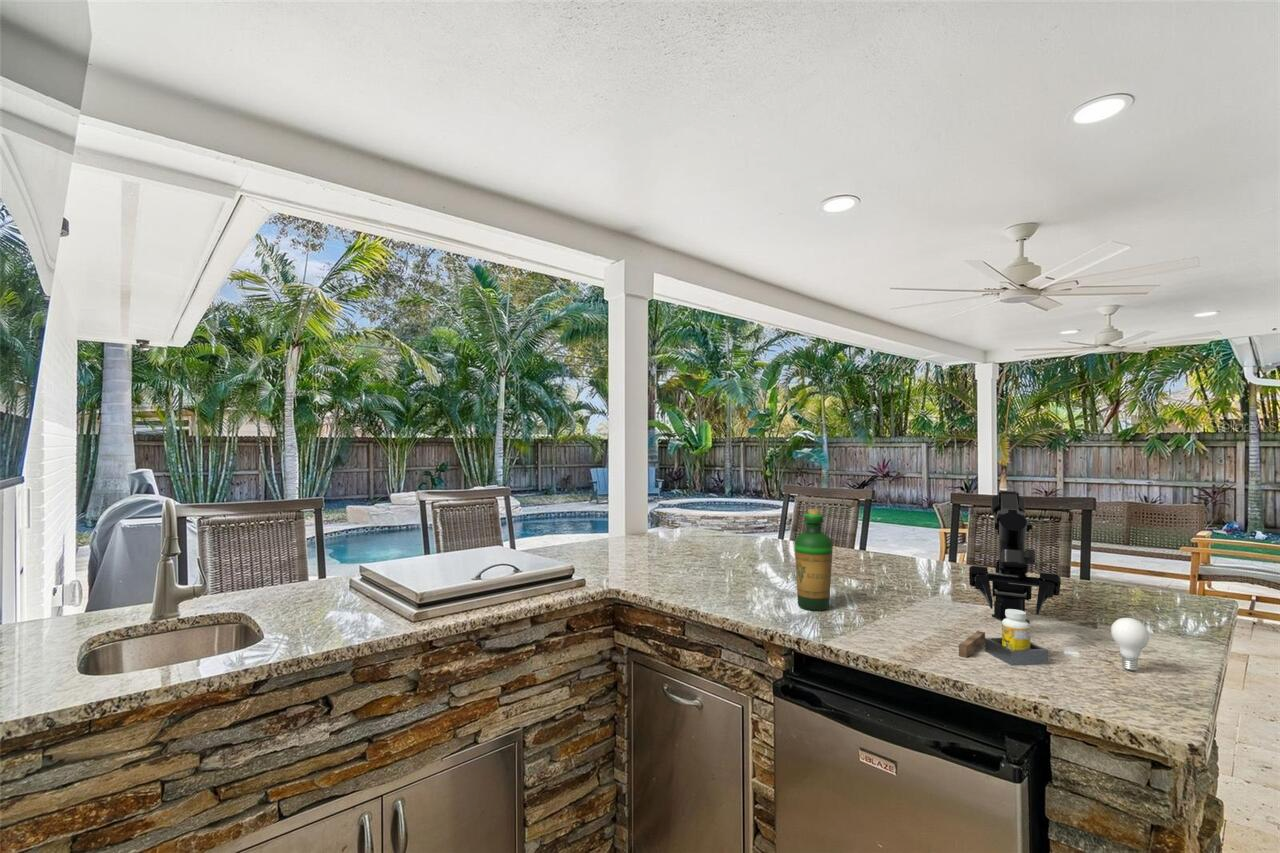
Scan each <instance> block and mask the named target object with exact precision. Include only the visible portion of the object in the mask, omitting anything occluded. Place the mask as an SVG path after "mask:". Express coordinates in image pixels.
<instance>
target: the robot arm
mask: <svg viewBox="0 0 1280 853" xmlns="http://www.w3.org/2000/svg"><path fill="white" fill-rule="evenodd" d="M1025 501H1026V500H1025V499H1024V498H1023V497H1022V496H1020V493H1019V491H1018V492H1017V491H1014V490H1013V491H1011V490H1000V491H998V494H996V495H995V496H993V497H991V515H993V520H994V522H993V523H994V524H993V528H994V531H996V532H997V535H998V537H999V538H998V560H997V561H996V564H995V569H994V570H995V572H991V571H988V566H984V565H983V566H982V565H974V564H972V565H970V566H969V568H968V572H969V574H968V575H969V576H968V577H969V586H970V587H974V588H975V589H976V590H979V591H980V592H981V594H982V595H983V597H984V598H985V600H986V602H987V604H988V606H989V609H991V610H993V609H994V611H993V613H991V617H993V618H995V619H997V620H999V621H1001V622H1002V621H1003V620H1004V619H1005V618H1007V617H1006V615H1005V610H1006V609H1016V610H1021V611H1024V612H1026V601H1030V600H1032V589H1033V588H1032V587H1038V591H1037V598H1036V606H1035V607H1036V608H1035V614H1036V615H1040V613H1041V610H1042V608H1043V605H1044V603H1045V602H1046V601H1047V600H1048V599H1052V598H1053V597H1054V596H1055V597H1056V596H1059V595H1060V591H1061V583H1062V582H1061V576H1060V575H1059V574H1058V573H1055V572H1045V571H1039V577H1035V576H1028V569H1029V567H1028V565H1035V564H1036V551H1035V549H1032V548H1030V549H1029V548H1026V538H1027V534H1028V533H1030V530H1033V524H1032V523H1031V522H1030V521H1029V518H1026V502H1025ZM991 583H992V584H991ZM990 584H991V585H990ZM991 587H992V588H991ZM991 589H992V590H991ZM993 597H995V600H994V602H993ZM993 603H994V604H993ZM1025 621H1026V622H1028V623H1030V619H1027V618H1026V620H1025Z"/></svg>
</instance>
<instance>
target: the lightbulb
mask: <svg viewBox="0 0 1280 853" xmlns="http://www.w3.org/2000/svg"><path fill="white" fill-rule="evenodd" d="M1149 632H1150V631H1149V630H1148V628H1147V626H1146V625H1145V624H1144V623H1143V622H1141V621H1139V620H1138V619H1136V618H1132V617H1120V618H1118V619H1116V620H1115V621H1114V622H1113V623H1112V624H1111V627H1110V633H1111V636H1112V637H1111V638H1112V639H1113V640H1114V641H1115V643H1116V645H1117V646H1118V649H1119V652H1120V655H1121V667H1122V668H1123V669H1125V671H1128V672H1135V671H1137V670H1139V658H1140V656H1141V653H1142V650H1143V649H1144V648H1145V647H1146V646H1147V644H1149V641H1150V633H1149Z"/></svg>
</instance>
